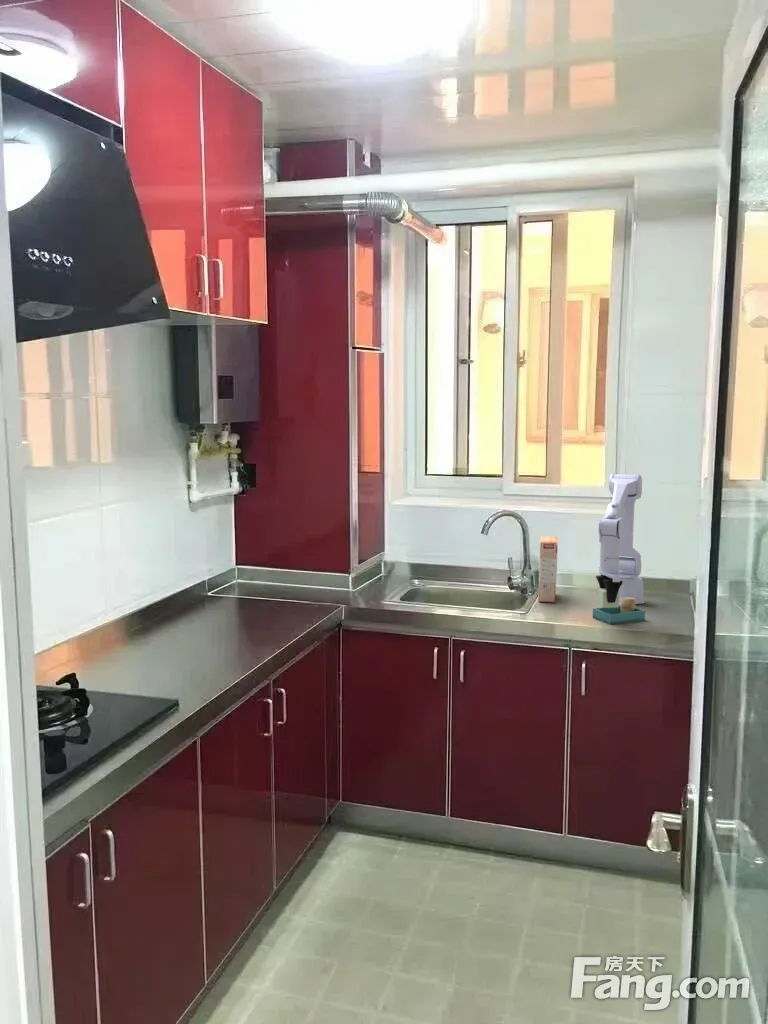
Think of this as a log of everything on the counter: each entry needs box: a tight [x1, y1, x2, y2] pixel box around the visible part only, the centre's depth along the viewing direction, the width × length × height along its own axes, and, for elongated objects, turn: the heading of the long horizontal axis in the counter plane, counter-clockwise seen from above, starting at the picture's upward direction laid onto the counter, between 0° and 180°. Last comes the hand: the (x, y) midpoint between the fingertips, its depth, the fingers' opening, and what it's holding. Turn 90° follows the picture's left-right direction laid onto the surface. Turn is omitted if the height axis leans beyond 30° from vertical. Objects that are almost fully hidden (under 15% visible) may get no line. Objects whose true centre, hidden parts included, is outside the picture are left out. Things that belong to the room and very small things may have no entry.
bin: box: [592, 605, 646, 625], centre depth 274 cm, size 13×9×3 cm
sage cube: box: [597, 587, 619, 608], centre depth 272 cm, size 5×5×5 cm
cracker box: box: [538, 535, 558, 603], centre depth 302 cm, size 14×6×21 cm, turn 168°
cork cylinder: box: [620, 597, 636, 613], centre depth 275 cm, size 4×4×6 cm
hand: (608, 600), depth 272 cm, fingers closed on sage cube, 5 cm apart
